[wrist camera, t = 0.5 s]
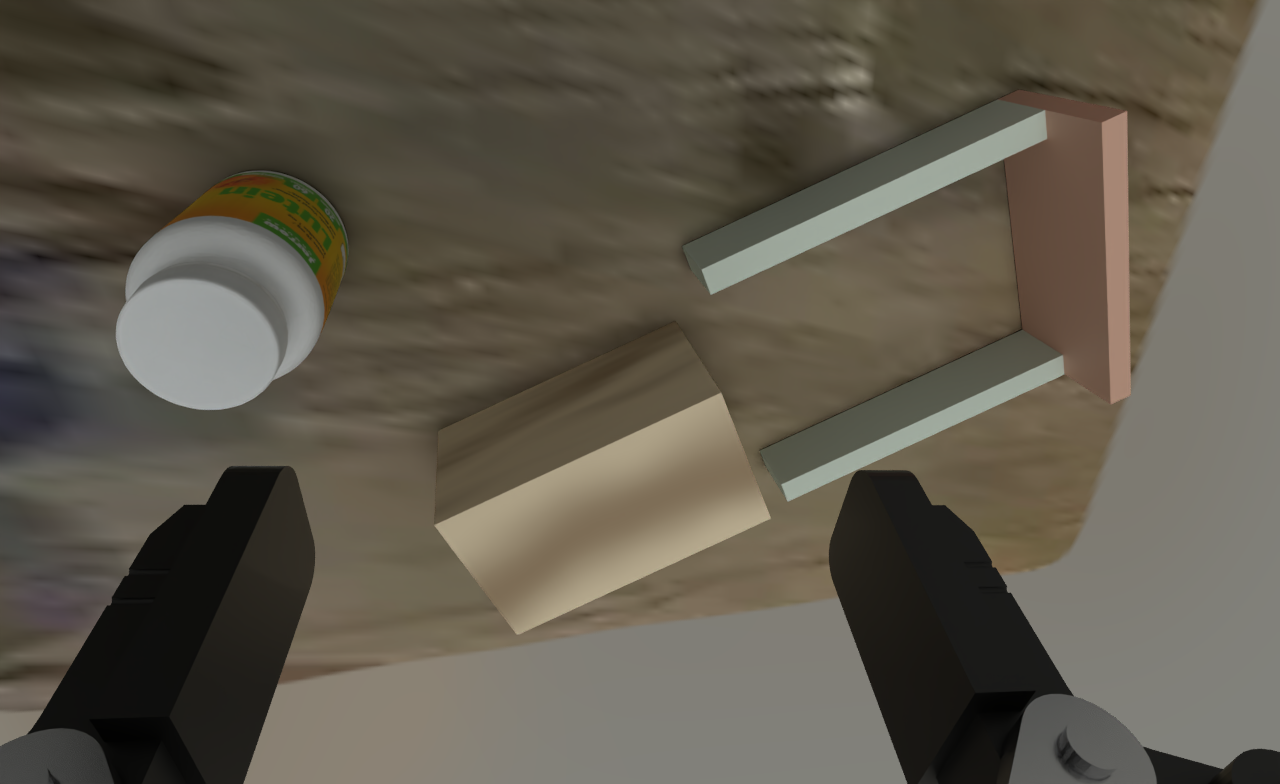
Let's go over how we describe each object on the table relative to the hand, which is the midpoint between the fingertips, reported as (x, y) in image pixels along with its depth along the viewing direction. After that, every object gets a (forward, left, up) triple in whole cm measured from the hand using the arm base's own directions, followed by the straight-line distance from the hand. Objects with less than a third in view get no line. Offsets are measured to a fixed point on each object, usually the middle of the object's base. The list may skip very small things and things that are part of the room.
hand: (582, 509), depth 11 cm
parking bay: (+12, +13, -21) cm, 28 cm away
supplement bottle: (-2, -9, -21) cm, 23 cm away
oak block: (+12, -2, -21) cm, 25 cm away
